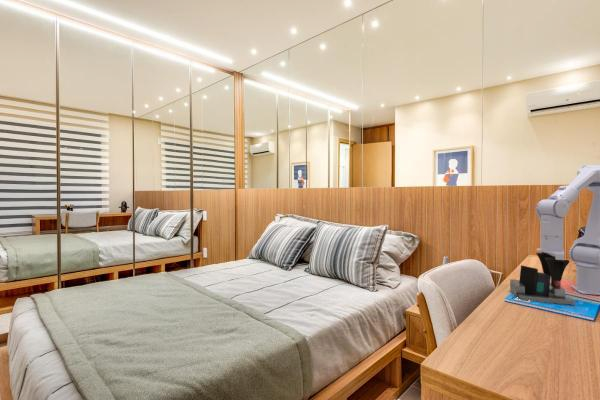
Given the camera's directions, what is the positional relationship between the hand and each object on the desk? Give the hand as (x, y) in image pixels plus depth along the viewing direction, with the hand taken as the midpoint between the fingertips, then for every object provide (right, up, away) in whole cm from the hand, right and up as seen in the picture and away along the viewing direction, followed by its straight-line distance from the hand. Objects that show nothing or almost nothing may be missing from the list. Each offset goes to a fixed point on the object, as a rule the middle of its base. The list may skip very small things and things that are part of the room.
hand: (552, 277), depth 99 cm
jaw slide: (+1, -7, 0) cm, 7 cm away
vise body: (-3, -7, +1) cm, 7 cm away
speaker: (-4, -7, +2) cm, 9 cm away
